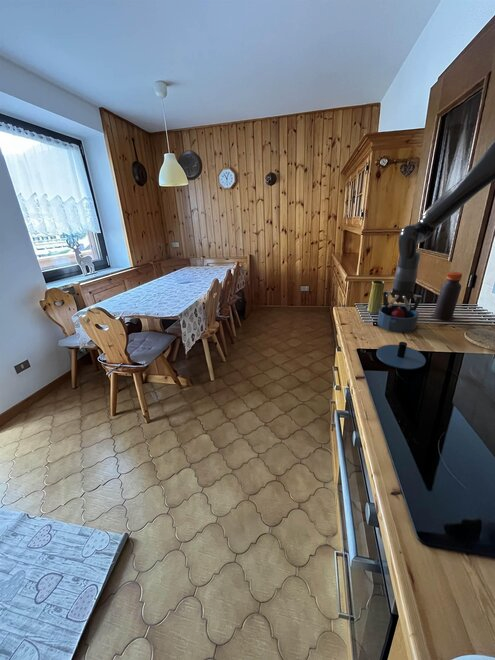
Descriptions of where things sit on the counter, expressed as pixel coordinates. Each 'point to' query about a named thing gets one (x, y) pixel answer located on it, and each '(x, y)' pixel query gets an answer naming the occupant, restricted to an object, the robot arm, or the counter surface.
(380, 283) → the vase
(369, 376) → the counter surface
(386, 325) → the pot
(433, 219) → the robot arm
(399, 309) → the onion
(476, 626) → the counter surface
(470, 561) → the counter surface
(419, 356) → the lid
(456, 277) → the bottle
